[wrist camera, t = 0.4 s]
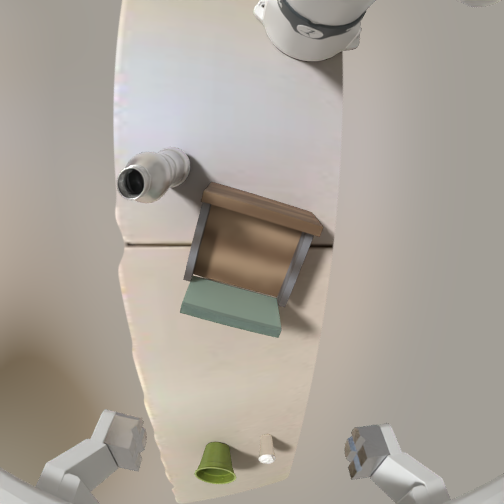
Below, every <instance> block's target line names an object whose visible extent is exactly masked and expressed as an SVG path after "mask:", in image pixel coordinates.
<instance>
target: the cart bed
mask: <svg viewBox="0 0 504 504" xmlns="http://www.w3.org/2000/svg"><path fill="white" fill-rule="evenodd" d="M201 202H203V203H202V207H201V211H200V214H199V218H198V222H197V226H196V230H195V234H194V238H193V242H192V246H191V250H190V254H189V258H188V262H187V266H186V271H185V275H184V279H183V280H186V281H191V278H192V276H193V274H195V275H199V276H202V277H206V278H209V279H213V280H216V281H220V282H223V283H227V284H231V285H234V286H238V287H242V288H245V289H249V290H253V291H256V292H260V293H264V294H268V295H272V296H275V297H277V299H278V305H279V306H283V307H285V306H286V304H287V301H288V299H289V297H290V294H291V292H292V289H293V287H294V284H295V282H296V279H297V277H298V274H299V272H300V270H301V267H302V264H303V262H304V259H305V257H306V254H307V252H308V249H309V247H310V244H311V242H312V239H313V236H314V235H315V236H318V237H320V235H321V232H322V229H323V226H322V225H321V223H320V222H319V221H318V220H317V218H316V217H315V216H314V215H313V213H312V212H309V211H306V210H303V209H300V208H297V207H294V206H290V205H287V204H284V203H281V202H278V201H275V200H271V199H268V198H265V197H262V196H258V195H255V194H252V193H248V192H245V191H242V190H238V189H235V188H231V187H228V186H224V185H221V184H217V183H214V182H211V183H210V184H209V186H208V187H207V188H206V189H205V190H204V192H203V196H202V199H201Z"/></svg>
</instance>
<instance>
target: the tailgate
mask: <svg viewBox="0 0 504 504" xmlns="http://www.w3.org/2000/svg"><path fill="white" fill-rule="evenodd" d="M180 313H183V314H187V315H190V316H194V317H197V318H201V319H205V320H208V321H212V322H216V323H219V324H223V325H227V326H231V327H235V328H239V329H243V330H247V331H251V332H255V333H259V334H264V335H268V336H272V337H277V338H278V337H279V335H280V333H281V323H280V317H279V310H278V304H277V298H273V297H270V296H266V295H262V294H258V293H254V292H251V291H247V290H243V289H240V288H236V287H232V286H229V285H225V284H221V283H218V282H214V281H211V280H207V279H204V278H200V277H197V276H192V279H191V282H190V284H189V287H188V289H187V292H186V294H185V297H184V300H183V302H182V305H181V310H180Z"/></svg>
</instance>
